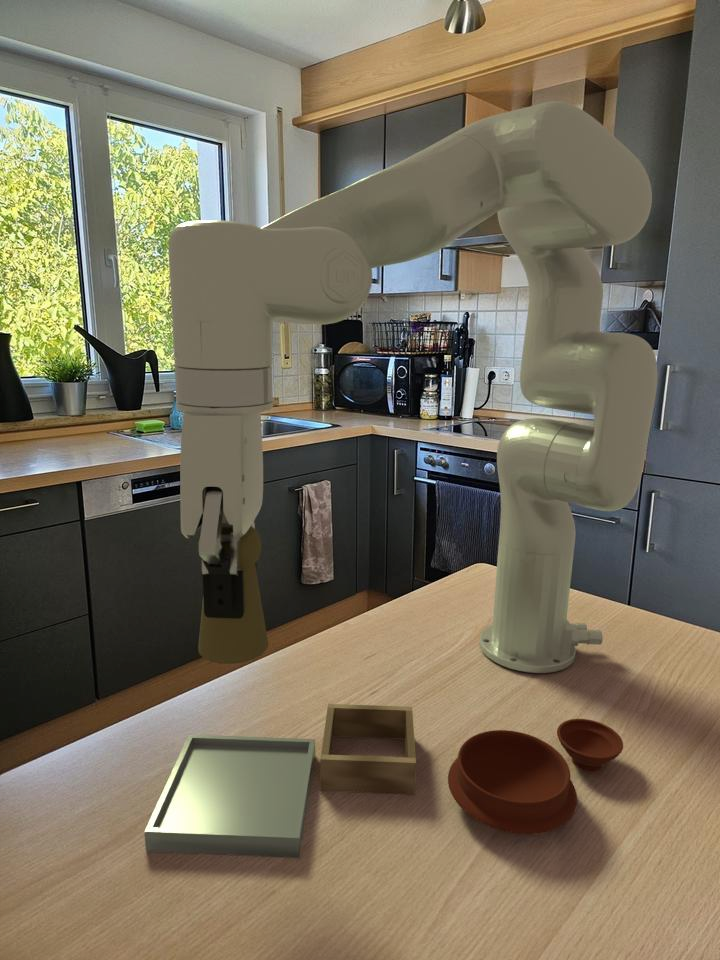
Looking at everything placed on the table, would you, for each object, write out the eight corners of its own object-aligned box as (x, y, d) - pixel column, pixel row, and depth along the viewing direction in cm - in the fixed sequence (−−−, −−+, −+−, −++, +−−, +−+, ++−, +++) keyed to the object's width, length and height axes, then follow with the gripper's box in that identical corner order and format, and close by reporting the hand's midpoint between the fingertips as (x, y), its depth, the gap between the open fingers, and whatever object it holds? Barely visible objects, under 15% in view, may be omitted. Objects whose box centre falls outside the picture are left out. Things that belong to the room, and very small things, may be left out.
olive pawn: (254, 667, 54) (250, 541, 52) (185, 659, 55) (179, 535, 53) (277, 634, 60) (275, 518, 57) (215, 626, 61) (210, 513, 58)
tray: (315, 756, 68) (315, 739, 67) (299, 857, 55) (299, 838, 55) (189, 751, 68) (188, 734, 68) (146, 851, 56) (144, 831, 55)
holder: (410, 735, 71) (412, 706, 71) (414, 794, 63) (416, 762, 62) (327, 732, 72) (328, 703, 71) (320, 790, 63) (320, 759, 62)
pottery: (421, 789, 64) (423, 749, 63) (562, 723, 74) (566, 688, 73) (509, 874, 54) (513, 830, 53) (656, 785, 65) (663, 747, 64)
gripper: (205, 377, 60) (213, 563, 65) (139, 403, 44) (155, 650, 49) (287, 379, 60) (289, 565, 65) (251, 406, 44) (257, 653, 48)
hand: (232, 599), depth 57 cm, fingers closed on olive pawn, 4 cm apart
